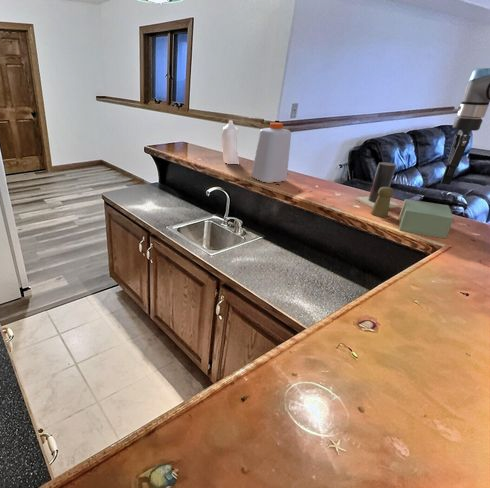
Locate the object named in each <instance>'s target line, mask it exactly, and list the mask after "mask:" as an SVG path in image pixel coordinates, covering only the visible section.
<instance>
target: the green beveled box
mask: <svg viewBox="0 0 490 488" xmlns="http://www.w3.org/2000/svg"><path fill="white" fill-rule="evenodd" d="M454 217H455V216H454V215H453V212H452V211H451V208H450V205H448V204H441V203H434V202H428V201H421V200H416V199H415V200H414V199H408V198H404V201H403V204H402V206H401V210H400V213H399V216H398V229H399V230H398V231H401V232H406V233H412V234H417V235H423V236H427V237H432V238H433V237H434V238H439V239H444V240H446V239H447V236H448V234H449V231H450V230H451V227H452V224H453V222H454V219H455V218H454Z"/></svg>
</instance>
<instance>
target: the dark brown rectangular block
mask: <svg viewBox="0 0 490 488" xmlns="http://www.w3.org/2000/svg"><path fill="white" fill-rule="evenodd" d="M396 169H397V164H396V163H392V162H388V161H387V162H384V161H381V162H380V161H379V162H378V164H377V167H376V171H375V174H374V178H373V182H372V185H371V188H370V191H369V196H368V197H369V199H368V200H369V201H371V202H374V203H375V202H376V200H377V198H378V196H379V194H378V190H379V189H380V188H381V187H390V188H391V184H392V181H393V178H394V175H395V171H396Z"/></svg>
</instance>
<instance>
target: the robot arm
mask: <svg viewBox="0 0 490 488" xmlns="http://www.w3.org/2000/svg"><path fill="white" fill-rule="evenodd" d="M489 106H490V67H480V68H479V67H478V68H475V69H474V70H473V71H472V72H471V74H470V77H469V79H468V81H467V83H466V87H465V90H464V94H463V97H462V100H461V102H460V105H459V106H457V107H456V110H457V113H456V116H457V117H456V118H455V119H454V122H453V125H452V129H453V130H458V132H457V133H455V135H454V137H453V142H452V145H451V148H450V152H449V155H448V158H447V160H446V164H445V169H444V172H443V175H442V178H441V181H440V184H441V185H449V186H451V183H452V180H453V178H454V174H455V172H456V170H457V168H458V167H459V166H460V163H461V161H462V158H463V156H464V154H465V151H466V149H467V147H468V145H469V143H470V140H471V135H470V134H471V131H473V132H474V131H475V132H476V131H479V130H481V129H480V128H481V126H482V123H483V119H482V118H484V117H485V116H486V114H487V112H488V108H489Z"/></svg>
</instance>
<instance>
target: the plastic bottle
mask: <svg viewBox="0 0 490 488" xmlns="http://www.w3.org/2000/svg"><path fill="white" fill-rule="evenodd" d="M291 138H292V132H291V130H290V129H286V128H284V123H282V122H270V124H269V127H264V128H261V129H260V131H259V135H258V140H257V145H256V150H255V155H254V160H253V165H252V170H251V178H252V177H253V178H252V179H254V178H255V179H254V180H256V179H257V180H256V181H258V180H260V181H259V182H261V181H262V182H261V183H263V182H266V183H265V184H274V183H273V182H277V183H282V182H281V181H284V182H286V181H287V179H288V170H289V169H288V168H289V158H290V148H291ZM285 180H286V181H285Z"/></svg>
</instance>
